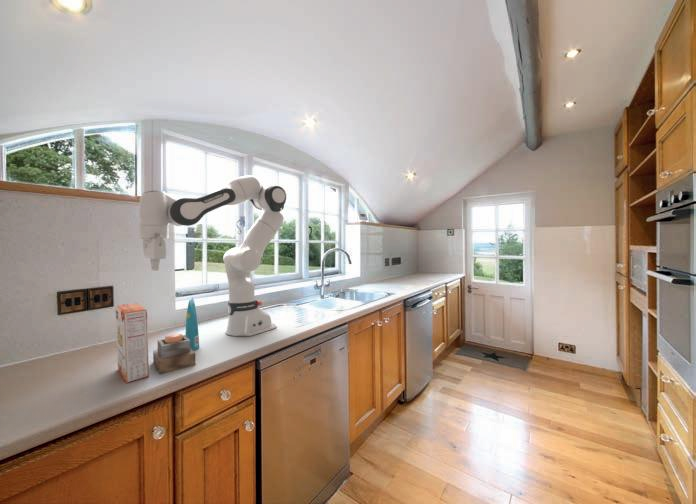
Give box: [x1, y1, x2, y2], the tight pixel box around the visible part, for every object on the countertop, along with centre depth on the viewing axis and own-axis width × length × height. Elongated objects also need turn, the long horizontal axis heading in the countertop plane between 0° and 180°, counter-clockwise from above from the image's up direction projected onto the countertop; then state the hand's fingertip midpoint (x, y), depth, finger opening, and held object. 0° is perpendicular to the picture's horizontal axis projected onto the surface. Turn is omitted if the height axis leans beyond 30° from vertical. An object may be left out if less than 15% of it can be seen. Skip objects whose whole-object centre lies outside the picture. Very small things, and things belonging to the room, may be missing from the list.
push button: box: [164, 333, 183, 344], centre depth 93 cm, size 5×5×5 cm
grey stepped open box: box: [152, 334, 196, 375], centre depth 93 cm, size 10×12×8 cm
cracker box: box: [115, 303, 150, 384], centre depth 86 cm, size 14×6×21 cm, turn 47°
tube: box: [184, 297, 200, 351], centre depth 106 cm, size 7×5×19 cm, turn 25°
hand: (155, 270), depth 104 cm, fingers closed
